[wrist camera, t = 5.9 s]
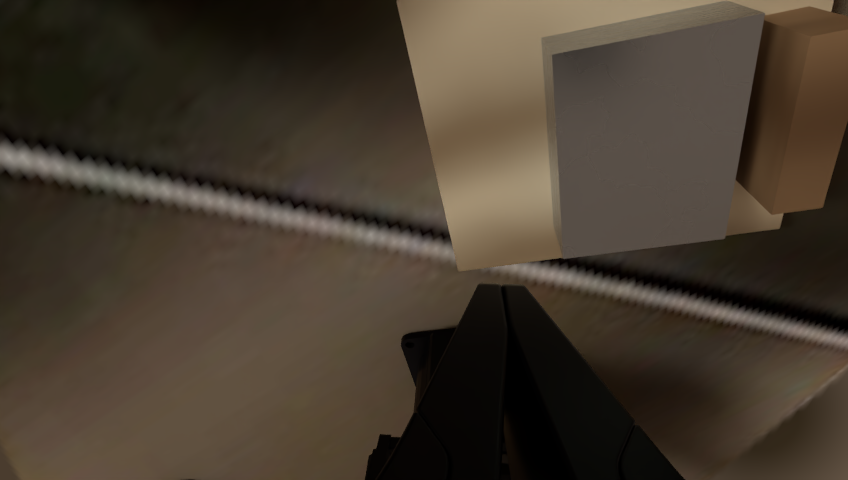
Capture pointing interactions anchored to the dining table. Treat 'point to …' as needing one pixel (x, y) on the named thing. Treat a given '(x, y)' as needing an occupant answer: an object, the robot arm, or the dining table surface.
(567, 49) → the grey rectangular box
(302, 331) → the dining table surface
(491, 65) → the board
